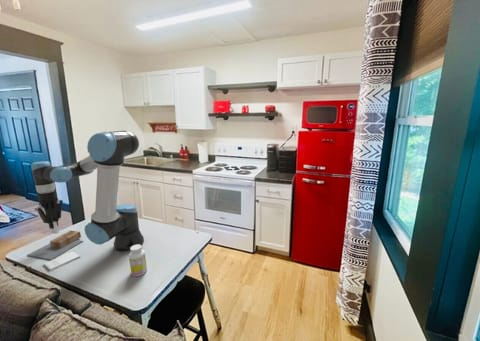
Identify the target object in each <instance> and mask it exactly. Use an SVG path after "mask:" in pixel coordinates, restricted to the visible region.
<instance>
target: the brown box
mask: <svg viewBox="0 0 480 341" xmlns="http://www.w3.org/2000/svg"><path fill="white" fill-rule="evenodd" d="M81 237H82V235H81V231H77V230H69V231H67V232H64V233H63V234H61V235H59V236H57V237H56V238H53V239H52V240H49V244H51V247H55V248H63V247H65V246H67V245H68V244H70V243H72V242H73V241H75V240H79V239H80V238H81Z"/></svg>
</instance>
